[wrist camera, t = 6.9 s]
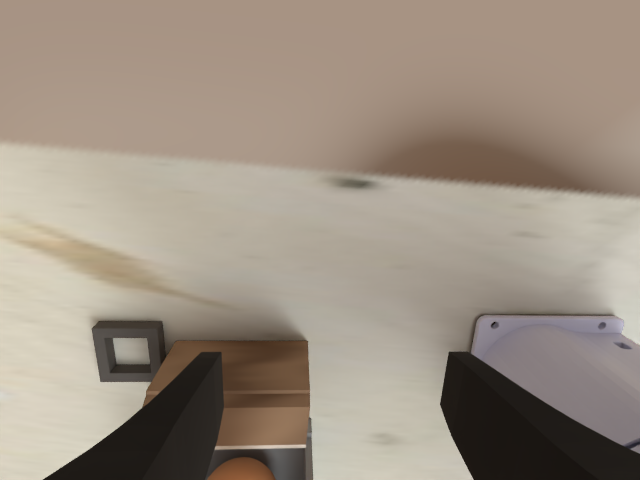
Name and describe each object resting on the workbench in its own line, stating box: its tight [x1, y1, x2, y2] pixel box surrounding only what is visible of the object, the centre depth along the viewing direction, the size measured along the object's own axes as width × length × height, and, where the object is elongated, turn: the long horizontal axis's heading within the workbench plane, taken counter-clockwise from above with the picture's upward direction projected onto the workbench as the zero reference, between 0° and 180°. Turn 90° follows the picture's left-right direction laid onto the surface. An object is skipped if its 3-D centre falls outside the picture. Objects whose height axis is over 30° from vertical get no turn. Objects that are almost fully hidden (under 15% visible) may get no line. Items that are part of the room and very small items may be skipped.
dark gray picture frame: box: [92, 321, 166, 382], centre depth 21 cm, size 4×4×1 cm
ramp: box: [142, 341, 310, 450], centre depth 20 cm, size 8×6×5 cm
